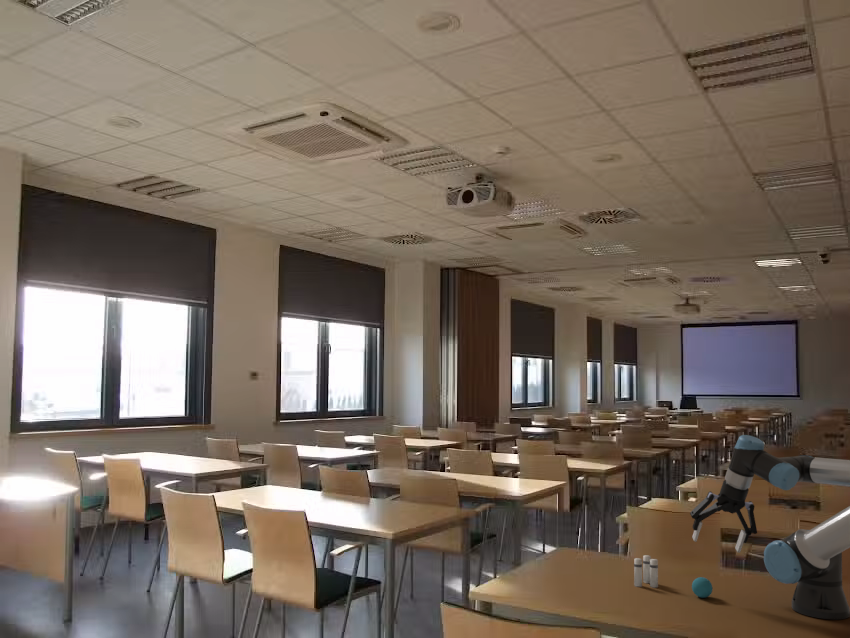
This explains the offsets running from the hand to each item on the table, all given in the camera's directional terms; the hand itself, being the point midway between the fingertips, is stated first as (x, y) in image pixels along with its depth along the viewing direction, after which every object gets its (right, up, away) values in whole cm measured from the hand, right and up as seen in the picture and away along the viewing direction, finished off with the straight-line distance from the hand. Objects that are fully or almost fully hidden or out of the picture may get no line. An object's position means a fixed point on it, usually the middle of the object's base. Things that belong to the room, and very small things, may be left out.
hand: (715, 544), depth 238 cm
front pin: (-17, -16, +7) cm, 24 cm away
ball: (-6, -12, -3) cm, 14 cm away
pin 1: (-22, -16, +8) cm, 28 cm away
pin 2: (-18, -16, +12) cm, 27 cm away
